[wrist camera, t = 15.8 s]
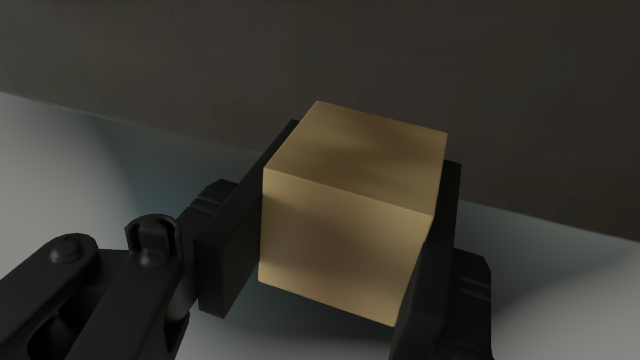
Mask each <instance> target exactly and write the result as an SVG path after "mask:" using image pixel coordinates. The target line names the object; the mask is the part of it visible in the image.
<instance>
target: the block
mask: <svg viewBox="0 0 640 360" xmlns="http://www.w3.org/2000/svg"><path fill="white" fill-rule="evenodd" d="M447 136H448V134H447V133H444V132H440V131H436V130H432V129H428V128H424V127H420V126H416V125H412V124H409V123H405V122H401V121H397V120H393V119H389V118H385V117H381V116H377V115H373V114H369V113H365V112H361V111H357V110H353V109H349V108H346V107H342V106H338V105H334V104H330V103H326V102H322V101H316V102H315V104H314V105H313V106H312V107H311V109H310V110H309V111H308V113H307V114H306V115H305V116H304V118H303V119H302V120H301V121H300V123H299V124H298V125H297V126H296V128H295V129H294V130H293V132H292V133H291V134H290V135H289V137H288V138H287V139H286V140H285V142H284V143H283V144H282V145H281V147H280V148H279V149H278V151H277V152H276V153H275V154H274V156H273V157H272V158H271V159H270V161H269V162H268V163H267V165H266V166H265V167H264V173H263V194H262V215H261V236H260V256H259V277H258V279H259V281H261V282H263V283H266V284H269V285H273V286H275V287H278V288H281V289H284V290H287V291H290V292H293V293H296V294H298V295H301V296H304V297H307V298H310V299H313V300H316V301H319V302H322V303H325V304H328V305H331V306H333V307H336V308H339V309H342V310H345V311H348V312H351V313H354V314H357V315H360V316H363V317H366V318H369V319H371V320H374V321H378V322H380V323H383V324H386V325H389V326H392V327H394V325H395V323H396V320H397V317H398V312H399V308H400V305H401V302H402V300H403V297H404V294H405V291H406V289H407V286H408V283H409V280H410V277H411V275H412V272H413V269H414V266H415V264H416V261H417V258H418V255H419V253H420V250H421V247H422V244H423V242H425V241H426V238H427V235H428V233H429V230H430V227H431V225H432V222H433V219H434V214H435V208H436V202H437V196H438V190H439V184H440V178H441V172H442V166H443V160H444V154H445V148H446V142H447Z"/></svg>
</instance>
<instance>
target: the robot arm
mask: <svg viewBox="0 0 640 360" xmlns="http://www.w3.org/2000/svg"><path fill="white" fill-rule="evenodd" d="M299 123H300V121H297V120H293V119H292V120H291V121H290V122H289V123H288V124H287V126H286V127H285V128H284V129H283V131H282V132H281V133H280V134H279V135H278V137H277V138H276V139H275V140H274V141H273V143H272V144H271V145H270V146H269V148H268V149H267V150H266V151H265V152H264V154H263V155H262V156H261V157H260V158H259V160H258V161H257V162H256V163H255V165H254V166H253V167H252V168H251V169H250V171H249V172H248V173H247V174H246V176H245V177H244V178H243V179H242V180H241V182H240V183H239V184H237V183H234V182H230V181H227V180H224V179H220V180H218V181H216V182H214V183H212V184H210V185H208V186H207V187H206V188H205V189H204V190H203V191H202V192H201V193H200V194H199V195H198V197H197V199H195V200H194V201H193V202H192V203H191V204H190V206H189V207H187V208H186V209H185V210H184V212H183V213H182V214H181V215H180V216H179V217H178V218H177V219H176V220H175V219H174V218H172V217H171V216H167V215H164V214H149V215H145V216H140V217H139V218H137V219H135V220H133V221H131V222H130V223H129V224H128V225H127V226H126V227H125V228H124V229H125V233H126V238H127V242H128V247H129V250H112V249H98V245H97V243H96V241H95V239H94V238H92V237H90V236H89V235H86V234H81V233H72V234H65V235H62V236H59V237H56V238H54V239H52V240H51V241H49V242H47V243H46V244H45V245H43V246H42V247H41V248H40V249H38V250H37V251H36V252H35V253H33V254H32V255H31V256H30V257H28V258H27V259H26V260H25V261H23V262H22V263H21V264H20V265H18V266H17V267H16V268H15V269H13V270H12V271H11V272H10V273H9V274H7V275H6V276H5V277H4V278H2V279H1V280H0V360H175V357H176V355H177V352H178V349H179V347H180V344H181V341H182V339H183V337H184V334H185V331H186V329H187V326H188V323H189V318H190V312H189V310H190V308H191V307H192V305H193V304H194V302H195V301H196V299H197V298H198V305H199V310H200V311H203V312H206V313H209V314H211V315H214V316H217V317H220V318H222V319H224V318H225V316H226V315H227V313H228V311H229V310H230V308H231V307H232V305H233V303H234V301H235V300H236V298H237V296H238V295H239V293H240V292H241V290H242V288H243V287H244V285H245V283H246V282H247V280H248V278H249V276H250V275H251V273H252V272H253V270H254V268H255V267H256V265H257V264H258V262H259V256H260V236H261V215H262V194H263V173H264V167H265V166H266V165H267V163H268V162H269V161H270V159H271V158H272V157H273V156H274V154H275V153H276V152H277V151H278V149H279V148H280V147H281V145H282V144H283V143H284V142H285V140H286V139H287V138H288V137H289V135H290V134H291V133H292V132H293V130H294V129H295V128H296V126H297V125H298V124H299ZM461 167H462V164H459V163H456V162H452V161H448V160H443V166H442V172H441V178H440V184H439V190H438V196H437V202H436V208H435V214H434V219H433V222H432V225H431V227H430V230H429V233H428V235H427V238H426V241H425V242H423V244H422V247H421V250H420V253H419V255H418V258H417V261H416V264H415V266H414V269H413V272H412V275H411V277H410V280H409V283H408V286H407V289H406V291H405V294H404V297H403V300H402V302H401V305H400V308H399V312H398V317H397V322H396V327H395V331H394V336H393V341H392V346H391V350H390V355H389V359H388V360H495V359H494V358H493V356H492V350H491V302H490V301H491V290H490V288H491V271H490V269H489V267H488V265H487V263H486V261H485V259H484V257H483V256H480V255H476V254H473V253H470V252H467V251H463V250H460V249H457V248H453V244H454V235H455V225H456V215H457V205H458V196H459V186H460V176H461Z"/></svg>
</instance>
